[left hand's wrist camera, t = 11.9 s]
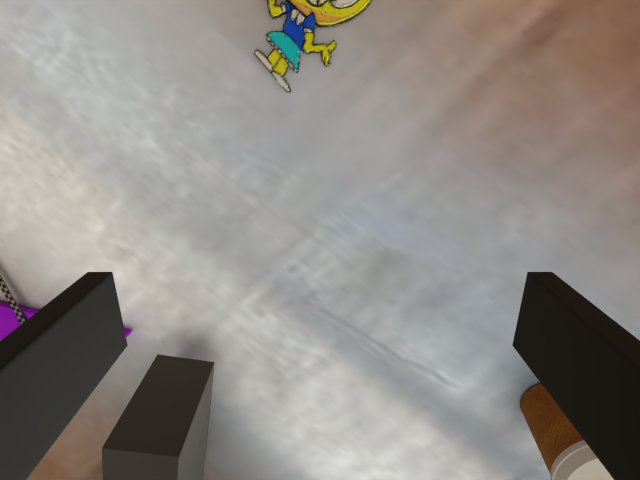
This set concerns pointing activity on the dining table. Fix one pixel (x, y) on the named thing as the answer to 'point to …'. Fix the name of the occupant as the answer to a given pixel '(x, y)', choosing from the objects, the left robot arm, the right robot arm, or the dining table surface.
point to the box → (163, 424)
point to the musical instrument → (16, 313)
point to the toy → (304, 32)
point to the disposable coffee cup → (559, 439)
